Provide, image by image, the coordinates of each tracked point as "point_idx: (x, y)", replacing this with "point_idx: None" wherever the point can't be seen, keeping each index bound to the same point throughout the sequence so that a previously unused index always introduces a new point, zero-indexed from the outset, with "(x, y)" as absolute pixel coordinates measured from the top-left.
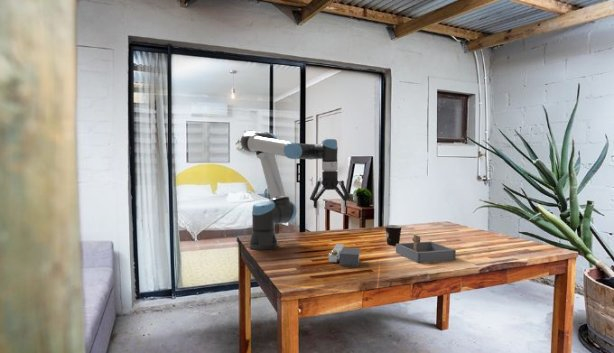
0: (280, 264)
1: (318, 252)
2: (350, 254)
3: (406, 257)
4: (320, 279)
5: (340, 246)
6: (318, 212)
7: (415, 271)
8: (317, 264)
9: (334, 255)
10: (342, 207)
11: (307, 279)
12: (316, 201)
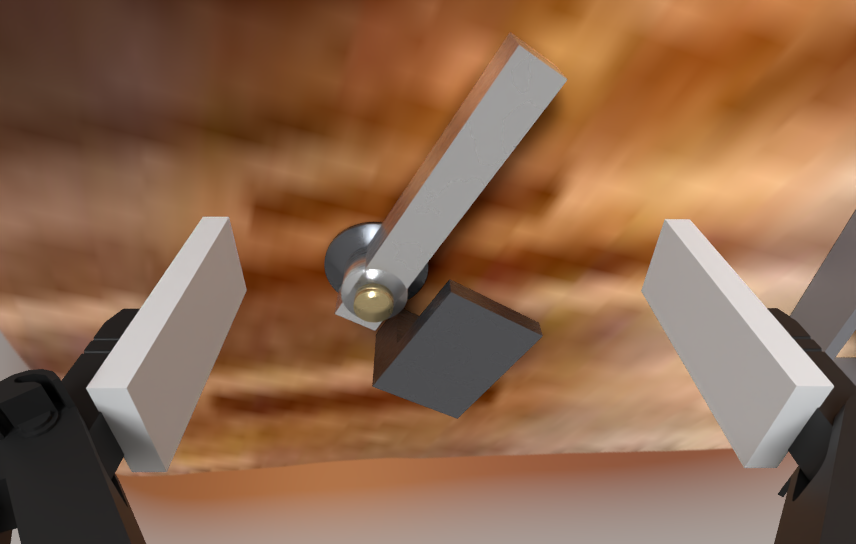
0: (46, 234)
1: (343, 25)
2: (423, 404)
3: (804, 294)
4: (249, 426)
5: (503, 144)
6: (230, 314)
7: (646, 431)
8: (272, 281)
9: (364, 324)
10: (689, 329)
11: (197, 418)
12: (114, 455)
